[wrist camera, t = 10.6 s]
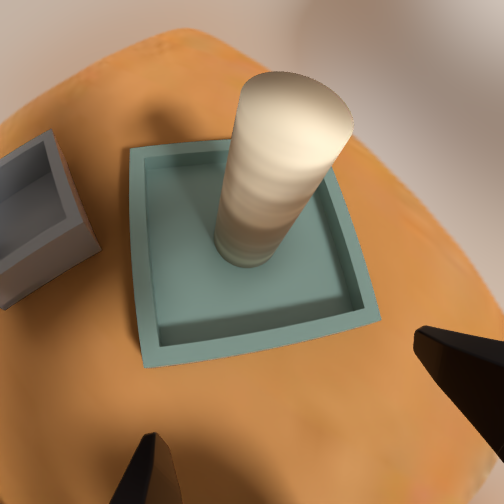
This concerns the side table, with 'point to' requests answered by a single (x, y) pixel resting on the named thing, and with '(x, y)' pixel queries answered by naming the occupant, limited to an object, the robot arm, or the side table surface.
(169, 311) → the green-grey tray
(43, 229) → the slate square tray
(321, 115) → the rounded wooden peg
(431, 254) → the side table surface
